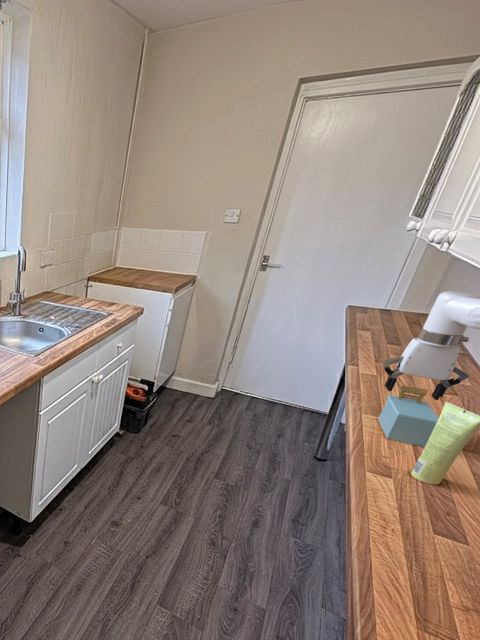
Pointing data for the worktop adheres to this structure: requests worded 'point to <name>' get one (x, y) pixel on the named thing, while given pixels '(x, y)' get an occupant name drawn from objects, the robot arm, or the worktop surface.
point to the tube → (445, 443)
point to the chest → (404, 427)
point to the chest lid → (413, 405)
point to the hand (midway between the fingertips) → (411, 393)
